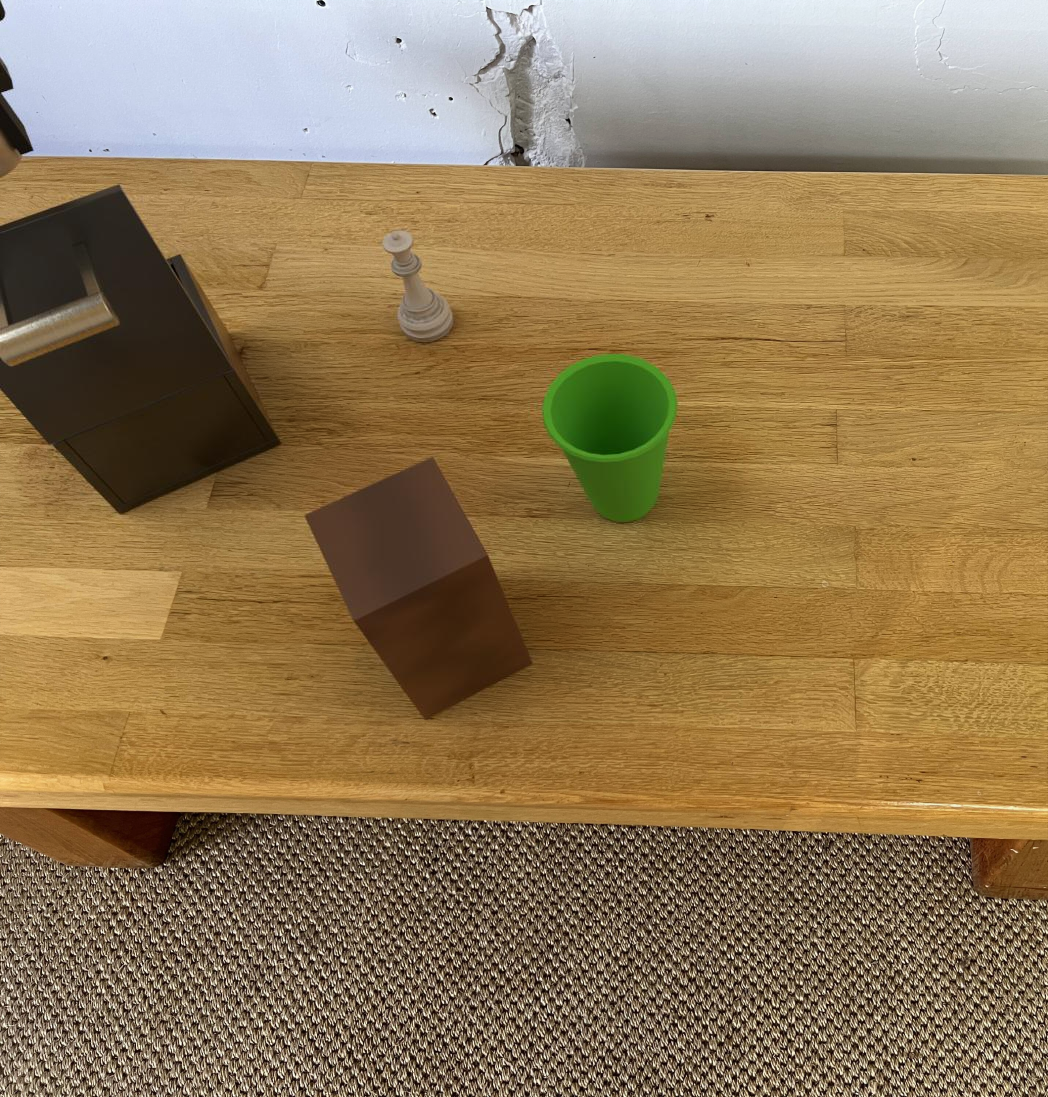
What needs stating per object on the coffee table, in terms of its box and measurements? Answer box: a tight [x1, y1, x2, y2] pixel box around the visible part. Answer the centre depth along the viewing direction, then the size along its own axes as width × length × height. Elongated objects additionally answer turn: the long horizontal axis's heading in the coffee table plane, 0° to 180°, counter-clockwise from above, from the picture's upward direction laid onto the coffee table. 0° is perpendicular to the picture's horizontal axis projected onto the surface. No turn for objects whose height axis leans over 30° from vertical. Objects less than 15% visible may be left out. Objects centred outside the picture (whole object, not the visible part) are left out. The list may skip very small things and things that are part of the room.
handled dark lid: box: [0, 183, 233, 445], centre depth 63 cm, size 14×13×9 cm
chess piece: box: [381, 230, 454, 343], centre depth 82 cm, size 4×4×10 cm
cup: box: [541, 353, 679, 523], centre depth 73 cm, size 9×9×11 cm
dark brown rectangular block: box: [304, 456, 533, 721], centre depth 65 cm, size 8×8×15 cm
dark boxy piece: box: [51, 253, 282, 515], centre depth 78 cm, size 14×13×9 cm
